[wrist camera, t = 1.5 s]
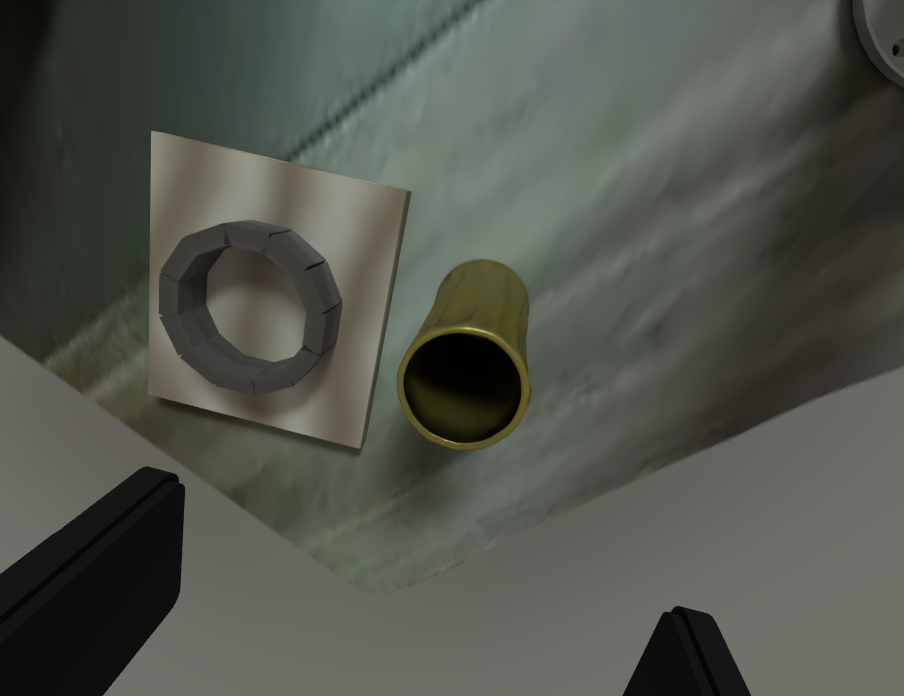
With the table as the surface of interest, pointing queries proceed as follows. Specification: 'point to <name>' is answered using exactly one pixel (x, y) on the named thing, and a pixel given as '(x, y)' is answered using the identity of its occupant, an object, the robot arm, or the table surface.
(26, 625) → the robot arm
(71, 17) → the table surface
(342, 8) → the table surface
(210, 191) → the plate
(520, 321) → the vase
